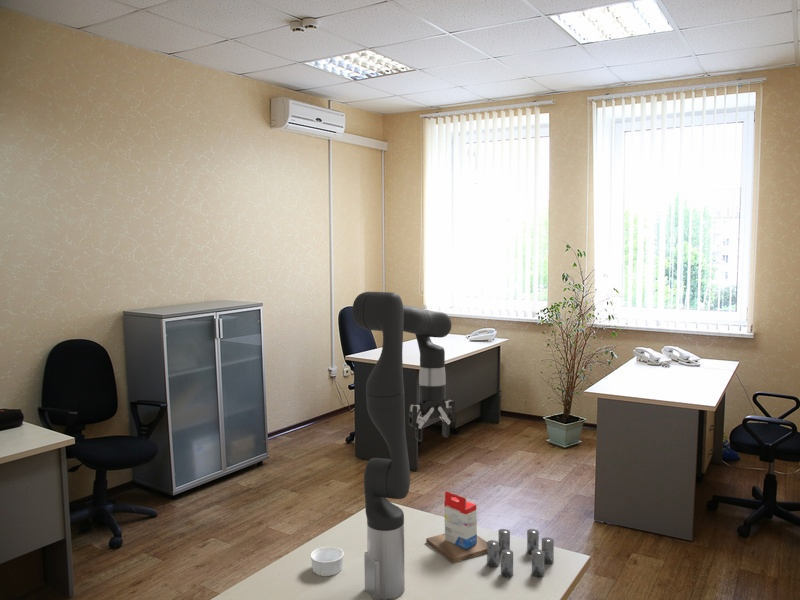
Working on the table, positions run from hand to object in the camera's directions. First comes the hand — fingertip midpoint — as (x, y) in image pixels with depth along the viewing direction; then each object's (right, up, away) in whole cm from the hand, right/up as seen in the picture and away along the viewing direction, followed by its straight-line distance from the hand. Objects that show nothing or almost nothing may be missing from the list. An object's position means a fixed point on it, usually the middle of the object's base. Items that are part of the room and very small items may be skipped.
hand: (432, 438), depth 172 cm
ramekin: (-29, -33, -10) cm, 45 cm away
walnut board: (+8, -32, +2) cm, 33 cm away
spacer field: (+23, -32, -8) cm, 41 cm away
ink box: (+8, -31, +2) cm, 32 cm away
